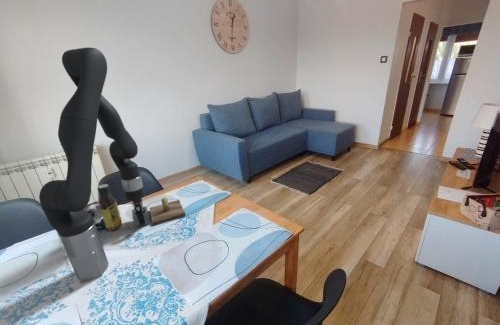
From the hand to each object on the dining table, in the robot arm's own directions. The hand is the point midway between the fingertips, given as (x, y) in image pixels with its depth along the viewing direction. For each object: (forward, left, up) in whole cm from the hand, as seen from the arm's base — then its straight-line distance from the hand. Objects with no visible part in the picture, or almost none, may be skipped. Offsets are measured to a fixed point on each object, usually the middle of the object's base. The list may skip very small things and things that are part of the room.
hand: (142, 220), depth 103 cm
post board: (+2, -11, -1) cm, 11 cm away
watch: (+6, +17, -1) cm, 18 cm away
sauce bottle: (+3, +11, -1) cm, 11 cm away
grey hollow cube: (0, 0, -1) cm, 1 cm away
